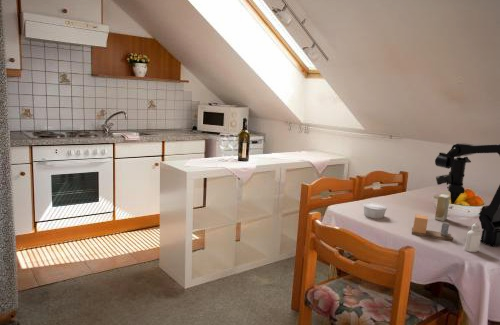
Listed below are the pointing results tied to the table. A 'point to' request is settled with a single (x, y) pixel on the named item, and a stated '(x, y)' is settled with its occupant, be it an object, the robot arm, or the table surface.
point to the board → (433, 235)
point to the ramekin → (374, 210)
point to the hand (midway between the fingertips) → (452, 203)
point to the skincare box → (442, 207)
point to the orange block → (420, 223)
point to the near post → (444, 229)
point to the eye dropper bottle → (473, 239)
